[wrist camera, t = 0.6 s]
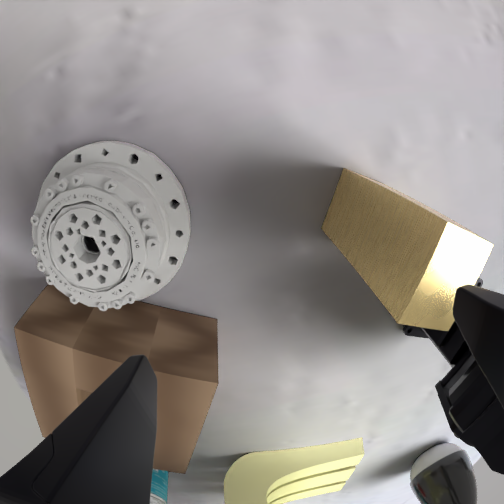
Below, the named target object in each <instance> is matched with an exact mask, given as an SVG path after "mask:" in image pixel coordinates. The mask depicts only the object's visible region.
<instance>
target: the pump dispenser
mask: <svg viewBox="0 0 504 504" xmlns="http://www.w3.org/2000/svg"><path fill="white" fill-rule="evenodd" d="M410 479H411V483H410V486H411V489H412V491H413V492H414V494H415V495H416V497H417V499H418V500H419V501H420V503H421V504H477V487H476V479H475V474H474V470H473V467H472V464H471V461H470V458H469V456H468V454H467V452H466V451H465V450H462V449H461V448H460V447H459V446H457V445H455V444H452V443H443V444H439V445H436V446H434V447H432V448H430V449H429V450H427V451H426V452H424V453H423V454H422V455H420V456H419V457H418V459H417V460H416V461H415V462H414V464H413V466H412V468H411V473H410Z"/></svg>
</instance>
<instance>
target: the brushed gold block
mask: <svg viewBox="0 0 504 504" xmlns="http://www.w3.org/2000/svg"><path fill="white" fill-rule="evenodd" d="M321 229H322V230H323V231H324V232H325V233H326V235H327V236H328V237H329V238H330V239H331V241H332V242H333V243H334V244H335V245H336V247H337V248H338V249H339V250H340V251H341V253H342V254H343V255H344V256H345V257H346V259H347V260H348V261H349V262H350V263H351V265H352V266H353V267H354V268H355V270H356V271H357V272H358V273H359V275H360V276H361V277H362V278H363V280H364V281H365V282H366V283H367V285H368V286H369V287H370V288H371V290H372V291H373V292H374V293H375V295H376V296H377V297H378V299H379V300H380V301H381V302H382V304H383V305H384V306H385V308H386V309H387V310H388V311H389V313H390V314H391V315H392V317H393V318H394V319H395V321H396V322H397V323H398V324H403V325H410V326H416V327H422V328H429V329H435V330H442V331H449V329H450V327H451V326H452V324H453V322H454V321H455V319H454V317H453V305H454V299H455V293H456V290H457V288H458V287H460V286H463V285H466V284H470V285H475V283H476V281H477V279H478V277H479V275H480V273H481V271H482V269H483V266H484V264H485V262H486V260H487V258H488V256H489V254H490V251H491V249H492V247H493V244H491V243H490V242H488V241H487V240H485V239H483V238H482V237H480V236H478V235H477V234H475V233H473V232H472V231H470V230H468V229H467V228H465V227H463V226H462V225H460V224H458V223H457V222H455V221H453V220H451V219H450V218H448V217H446V216H444V215H442V214H441V213H439V212H437V211H435V210H433V209H432V208H430V207H428V206H426V205H424V204H422V203H420V202H418V201H417V200H415V199H413V198H411V197H409V196H407V195H405V194H403V193H401V192H399V191H397V190H395V189H393V188H391V187H389V186H387V185H385V184H383V183H380V182H378V181H375V180H373V179H370V178H368V177H365V176H363V175H360V174H358V173H355V172H353V171H350V170H348V169H345V168H343V171H342V174H341V177H340V180H339V182H338V185H337V188H336V190H335V193H334V196H333V199H332V201H331V204H330V207H329V209H328V212H327V214H326V217H325V220H324V222H323V225H322V228H321Z"/></svg>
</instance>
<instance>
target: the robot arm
mask: <svg viewBox="0 0 504 504" xmlns="http://www.w3.org/2000/svg"><path fill="white" fill-rule="evenodd" d="M482 284H483V280H482V279H480V278H479V277H478V279H477V281H476V283H475V285H470V284H466V285H463V286H460V287H458V288H457V290H456V293H455V299H454V305H453V317H454V319H455V321H454V322H453V324H452V326H451V327H450V329H449V331H442V330H435V329H429V328H422V327H416V326H410V325H404V327H403V332H404V333H405V335H407V336H415V337H423V338H429V339H430V340H431V341H432V342H433V344H434V345H435V346H436V347H437V349H438V350H439V351H440V352H441V354H442V355H443V356H444V358H445V359H446V360H447V361H448V363H449V364H450V365H451V367H452V369H451V370H450V371H449V372H448V373H447V375H446V376H445V377H444V378H443V379H442V380H441V381H439V382H438V383H437V384H436V385H435V387H436V390H437V392H438V396H439V399H440V401H441V404H442V407H443V409H444V412H445V415H446V417H447V420H448V423H449V425H450V428H451V430H452V432H453V433H454V435H455V436H456V437H457V438H460V439H461V440H462V441H463V442H465V443H466V444H468V445H470V446H474V447H475V448H476V449H477V450H478V451H479V453H480V454H481V455H482V457H483V458H484V459H485V461H486V463H487V464H488V465H489V467H490V468H491V470H493V471H495V472H498V473H501V474H504V295H503V294H500V293H497V292H493V291H490V290H487V289H484V288H481V286H482ZM408 329H409V330H408ZM156 433H157V377H156V375H155V373H154V371H153V369H152V367H151V365H150V362H149V360H148V358H147V357H146V356H145V355H143V354H141V355H132V356H130V357H129V358H128V359H127V360H126V361H125V362H123V363H122V364H121V365H120V366H119V367H118V368H117V369H116V370H115V371H114V372H113V373H112V374H111V375H110V376H109V377H108V378H107V379H106V380H105V381H104V382H103V383H102V384H101V385H100V386H99V387H98V388H97V389H95V390H94V391H93V392H92V393H91V394H90V395H89V396H88V397H87V398H86V399H85V400H84V401H83V402H82V403H81V404H80V405H79V406H78V407H77V408H76V409H75V410H74V411H73V412H72V413H71V414H70V415H69V416H68V417H67V418H66V419H65V420H64V421H63V422H61V423H60V424H59V425H58V426H57V427H56V428H55V429H54V430H53V431H52V433H50V434H49V435H48V436H47V437H46V438H45V439H44V440H43V441H42V442H41V443H40V444H39V445H38V446H37V447H36V448H35V449H33V451H31V452H30V453H29V454H28V455H27V456H26V457H24V458H23V459H22V460H21V461H20V462H18V463H17V464H16V465H15V466H14V467H12V468H11V469H10V470H9V471H7V472H6V473H5V474H4V475H2V476H1V477H0V504H150V494H151V482H152V471H153V461H154V452H155V443H156Z"/></svg>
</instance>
